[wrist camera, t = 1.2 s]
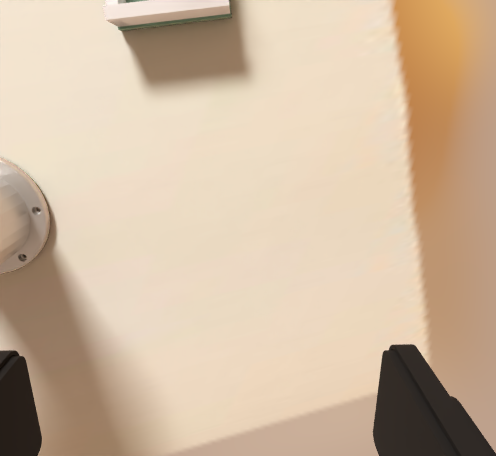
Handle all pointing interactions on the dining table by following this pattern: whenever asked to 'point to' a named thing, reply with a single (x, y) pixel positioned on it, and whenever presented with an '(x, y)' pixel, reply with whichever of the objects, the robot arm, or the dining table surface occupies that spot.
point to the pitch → (163, 12)
